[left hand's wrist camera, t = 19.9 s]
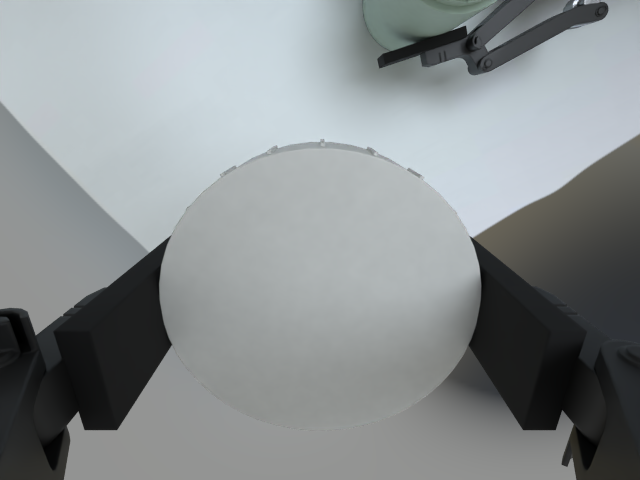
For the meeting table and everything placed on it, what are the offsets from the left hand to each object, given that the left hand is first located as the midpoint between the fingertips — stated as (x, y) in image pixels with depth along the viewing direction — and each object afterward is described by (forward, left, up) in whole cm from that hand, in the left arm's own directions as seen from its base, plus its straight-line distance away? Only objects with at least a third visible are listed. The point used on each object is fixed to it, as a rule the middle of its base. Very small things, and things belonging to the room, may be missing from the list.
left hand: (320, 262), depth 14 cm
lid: (0, 0, +3) cm, 3 cm away
